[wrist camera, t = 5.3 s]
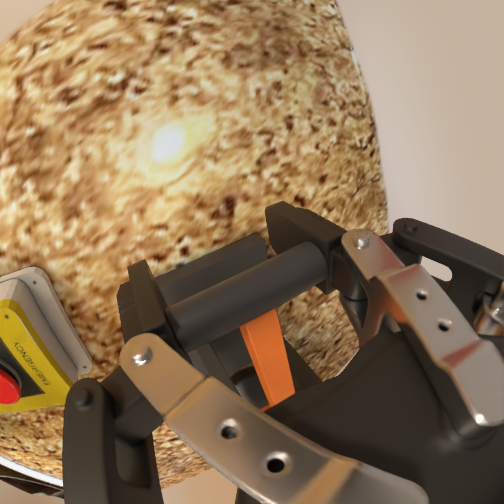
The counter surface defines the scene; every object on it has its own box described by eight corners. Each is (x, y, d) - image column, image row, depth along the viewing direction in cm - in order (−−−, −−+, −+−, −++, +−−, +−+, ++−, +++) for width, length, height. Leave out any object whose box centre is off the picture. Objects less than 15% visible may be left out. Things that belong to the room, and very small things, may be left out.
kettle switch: (157, 292, 8) (174, 340, 6) (291, 230, 10) (338, 255, 8) (247, 437, 14) (266, 466, 12) (314, 398, 15) (336, 422, 13)
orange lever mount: (131, 288, 16) (196, 471, 7) (255, 232, 19) (394, 347, 10) (192, 381, 23) (253, 489, 14) (275, 337, 25) (354, 428, 16)
